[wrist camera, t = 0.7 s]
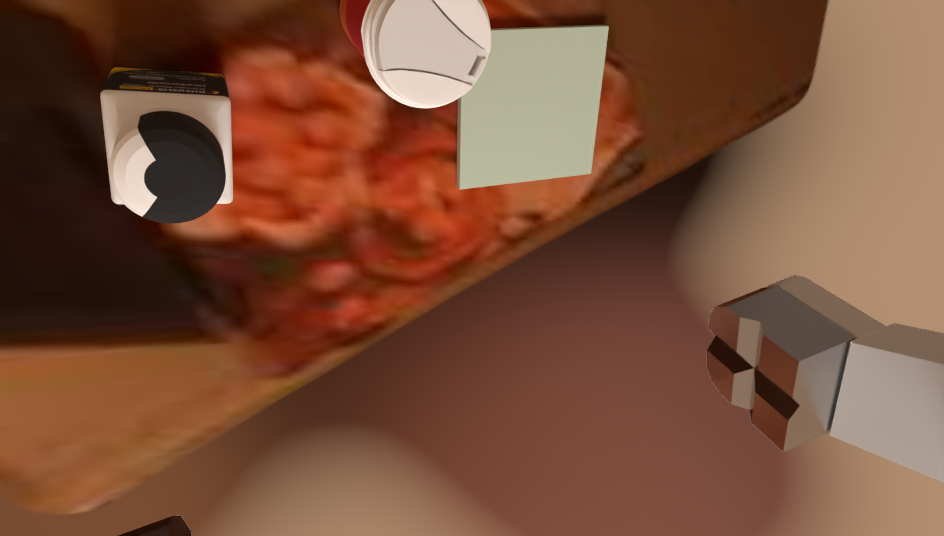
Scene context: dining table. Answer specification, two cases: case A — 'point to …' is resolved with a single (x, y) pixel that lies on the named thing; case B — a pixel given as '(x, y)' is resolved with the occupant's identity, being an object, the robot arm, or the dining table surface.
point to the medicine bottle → (168, 142)
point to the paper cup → (420, 46)
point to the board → (532, 106)
